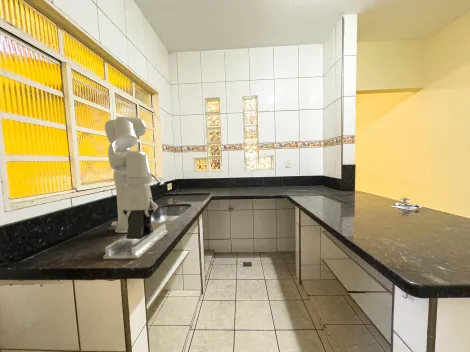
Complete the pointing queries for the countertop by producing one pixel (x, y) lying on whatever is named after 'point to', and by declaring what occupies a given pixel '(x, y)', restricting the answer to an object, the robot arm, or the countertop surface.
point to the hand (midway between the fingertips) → (139, 225)
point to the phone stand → (138, 225)
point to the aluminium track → (133, 245)
